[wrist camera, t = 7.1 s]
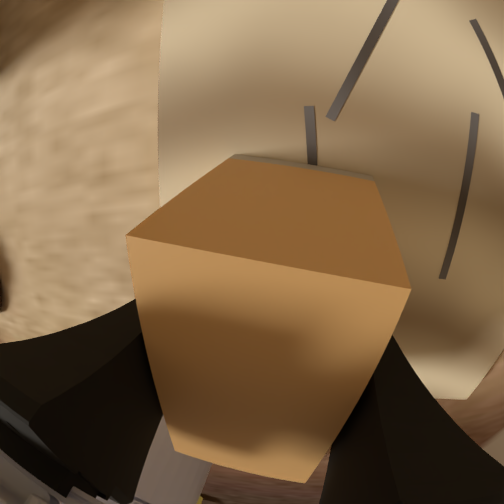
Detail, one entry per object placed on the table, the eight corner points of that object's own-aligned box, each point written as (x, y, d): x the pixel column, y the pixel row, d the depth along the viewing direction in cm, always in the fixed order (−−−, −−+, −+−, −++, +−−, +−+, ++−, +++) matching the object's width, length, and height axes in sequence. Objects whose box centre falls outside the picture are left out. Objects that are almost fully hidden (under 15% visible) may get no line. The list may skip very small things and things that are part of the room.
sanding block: (324, 356, 13) (304, 483, 8) (227, 336, 14) (175, 450, 9) (372, 176, 9) (411, 289, 4) (234, 154, 10) (125, 235, 5)
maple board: (461, 379, 14) (466, 399, 13) (185, 333, 17) (174, 352, 15) (565, -23, 3) (582, -28, 2) (200, -109, 6) (184, -124, 4)
